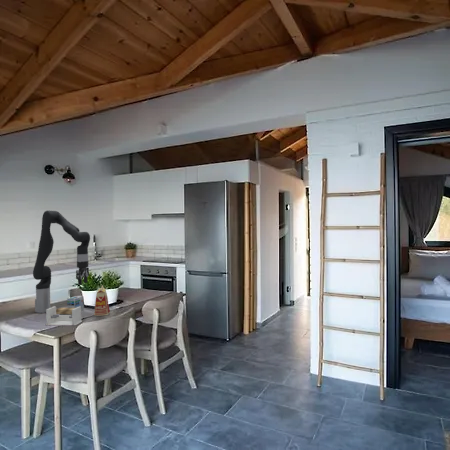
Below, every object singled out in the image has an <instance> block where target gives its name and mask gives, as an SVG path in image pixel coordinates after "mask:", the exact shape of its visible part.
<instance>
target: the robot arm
mask: <svg viewBox="0 0 450 450" xmlns="http://www.w3.org/2000/svg"><path fill="white" fill-rule="evenodd" d="M52 224H57V225H59V226H61V227H62V229H63V231H64V232H65V233H67V234H68V235H69V236H71V238H72V239H73V240H74V241H75V242H77V243H80V245H78V246H77V247H76V268H77V269H76V271H75V279H76V280H77V285H79V286H80V285H81V286H82V282H83V283H85V284H86V283H88V277H89V276H90V269H89V268H90V267H89V251H88V250H89V249H88V248H89V245H90V242H91V241H90V240H91V235H90V233H89V232H87V231H80V229H79V228H78V227H77V226H76V225H74V224H73V223H71V222H70V221H69V220H67V218H65V216H63V215H62V213H60V212H59V211H57V210H45V211H44V212H43V214H42V218H41V231H40V239H39V243H38V250H37V254H36V259H35V263H34V267H33V270H32V276H33V279H34V280H37V281H39V282H38V283H37V284H35V298H34V313H38V314H40V313H41V314H43V313H46V309H49V308H51V283H52V269H51V268H50V266H47V265H45V263H46V261H47V259H48V258H49V256H50V255H51V253H52V252H53V249H54V243H55V241H54V237H53V235H52V233H51V226H52ZM82 279H83V281H82Z"/></svg>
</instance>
